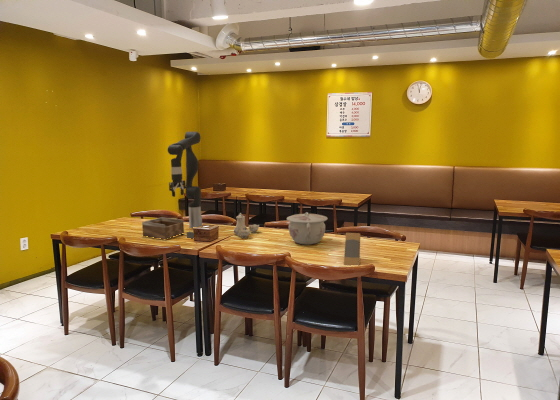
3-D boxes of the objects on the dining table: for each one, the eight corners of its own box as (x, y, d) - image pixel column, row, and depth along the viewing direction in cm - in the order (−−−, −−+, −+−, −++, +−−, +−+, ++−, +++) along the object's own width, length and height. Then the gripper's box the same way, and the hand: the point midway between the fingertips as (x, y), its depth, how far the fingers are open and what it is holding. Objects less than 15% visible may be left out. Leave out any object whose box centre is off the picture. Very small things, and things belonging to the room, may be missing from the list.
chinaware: (249, 242, 285) (251, 219, 282) (226, 238, 289) (228, 215, 286) (260, 233, 312) (262, 211, 309) (239, 230, 316) (241, 208, 313)
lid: (190, 236, 299) (189, 228, 299) (211, 239, 290) (211, 231, 289) (173, 241, 285) (173, 233, 284) (195, 245, 275) (195, 236, 274)
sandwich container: (343, 265, 227) (343, 238, 224) (345, 257, 241) (345, 232, 239) (359, 266, 225) (359, 239, 222) (360, 258, 239) (360, 233, 237)
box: (162, 231, 315) (161, 217, 313) (184, 234, 304) (183, 219, 302) (143, 236, 298) (142, 221, 297) (165, 240, 288) (164, 224, 286)
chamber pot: (302, 235, 296) (302, 207, 292) (335, 241, 278) (335, 211, 275) (277, 243, 274) (277, 213, 271) (311, 250, 257) (311, 217, 254)
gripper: (179, 172, 299) (181, 194, 302) (165, 173, 287) (166, 196, 290) (187, 172, 296) (188, 194, 298) (173, 174, 283) (174, 197, 286)
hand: (178, 195), depth 294 cm, fingers open, 8 cm apart
